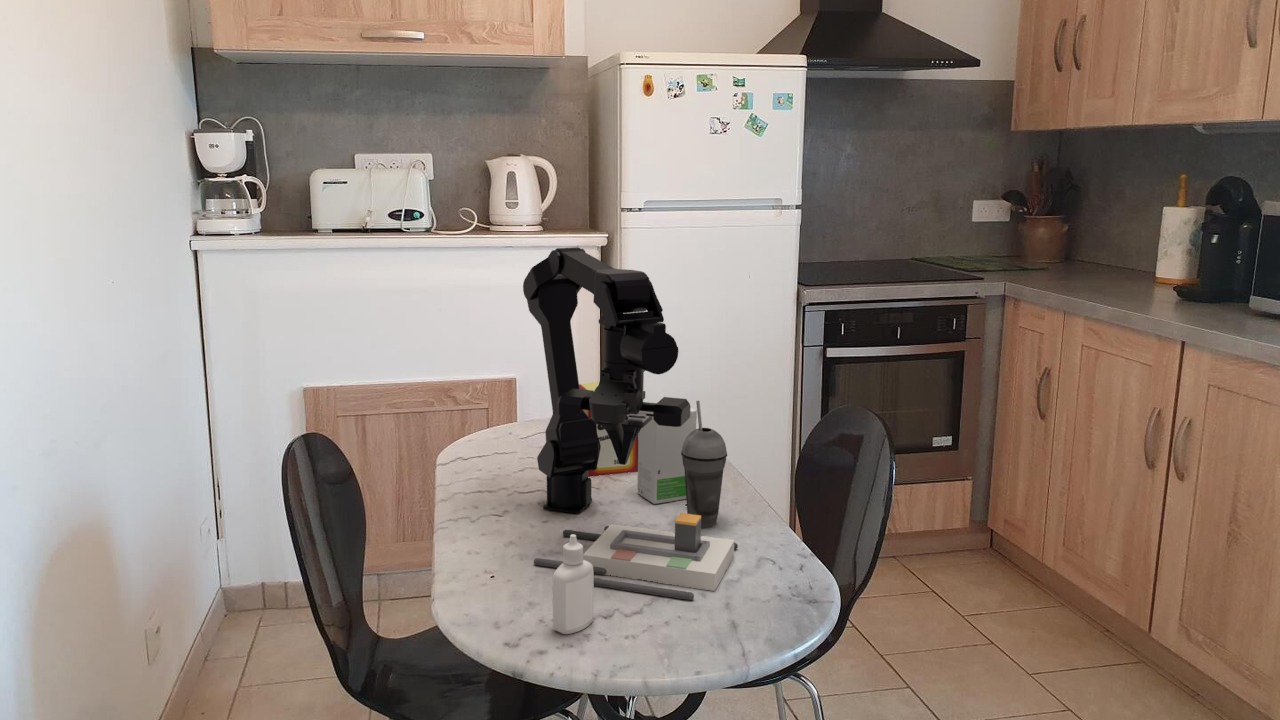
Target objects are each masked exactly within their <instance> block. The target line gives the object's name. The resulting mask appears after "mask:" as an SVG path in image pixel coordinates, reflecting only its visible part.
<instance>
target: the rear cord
mask: <svg viewBox="0 0 1280 720" xmlns="http://www.w3.org/2000/svg"><path fill="white" fill-rule="evenodd" d="M609 526H610V525H606V526H604V529H603V530H604V531H605V530H606V529H607V528H608V527H609ZM572 534H574V535H576V538H577V539H583V540H590V541H596V540H597V539H598V538H599V537H600V536H601V535H602V534H603V533H602V534H600V533H593V532H588V531H587V532H586V531H577V530H570V529H564V530H563V531H562V536H564V537H568V538H570V535H572ZM738 546H739V545H738V543H736V542H734V550H737V549H738Z"/></svg>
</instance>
